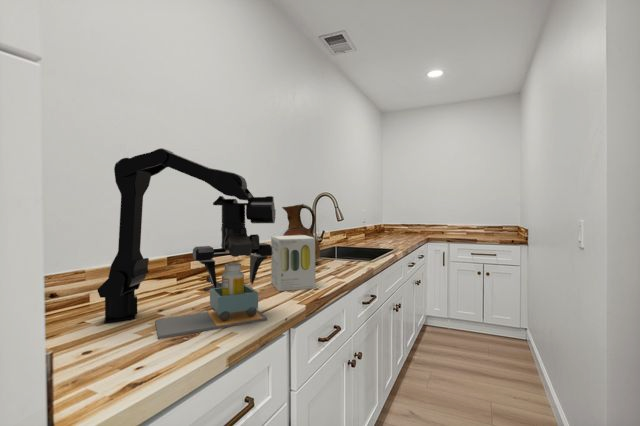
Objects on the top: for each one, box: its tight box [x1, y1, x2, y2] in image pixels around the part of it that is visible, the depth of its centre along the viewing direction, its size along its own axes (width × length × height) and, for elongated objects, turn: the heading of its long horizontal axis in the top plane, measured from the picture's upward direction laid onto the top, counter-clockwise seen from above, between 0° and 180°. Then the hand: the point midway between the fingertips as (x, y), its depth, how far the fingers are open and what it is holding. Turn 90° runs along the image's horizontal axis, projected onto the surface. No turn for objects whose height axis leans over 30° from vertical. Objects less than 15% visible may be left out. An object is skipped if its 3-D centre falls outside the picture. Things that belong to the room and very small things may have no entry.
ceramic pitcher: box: [281, 203, 321, 262], centre depth 162 cm, size 20×20×30 cm
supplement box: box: [270, 235, 316, 292], centre depth 116 cm, size 13×13×18 cm
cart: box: [209, 284, 259, 321], centre depth 82 cm, size 10×10×6 cm
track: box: [154, 309, 268, 340], centre depth 80 cm, size 24×12×1 cm, turn 119°
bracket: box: [203, 275, 222, 292], centre depth 119 cm, size 14×15×3 cm
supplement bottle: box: [221, 262, 245, 296], centre depth 82 cm, size 5×5×10 cm
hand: (233, 285), depth 82 cm, fingers open, 9 cm apart
